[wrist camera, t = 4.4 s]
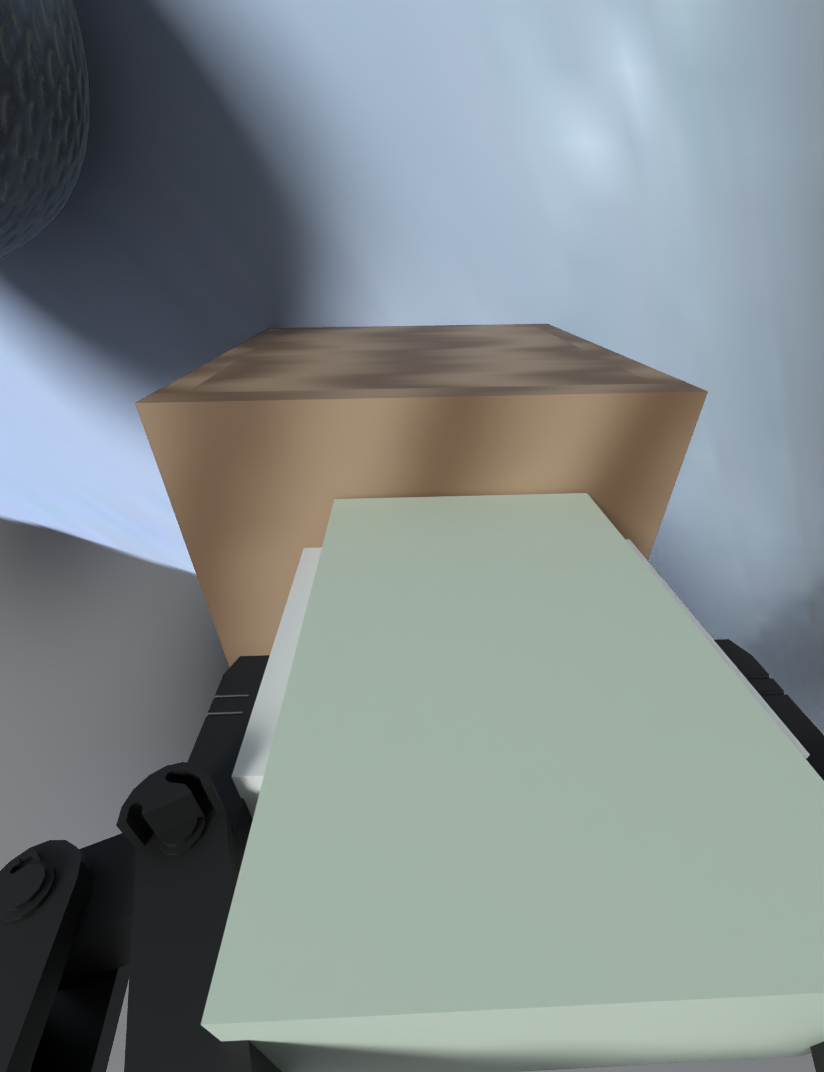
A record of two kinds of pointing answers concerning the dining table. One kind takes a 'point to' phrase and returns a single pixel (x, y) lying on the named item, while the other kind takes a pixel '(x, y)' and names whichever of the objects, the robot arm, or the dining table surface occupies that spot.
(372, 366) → the wood-grain box
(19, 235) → the planter
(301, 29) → the dining table surface
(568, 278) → the dining table surface
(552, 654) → the pale green block
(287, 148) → the dining table surface
